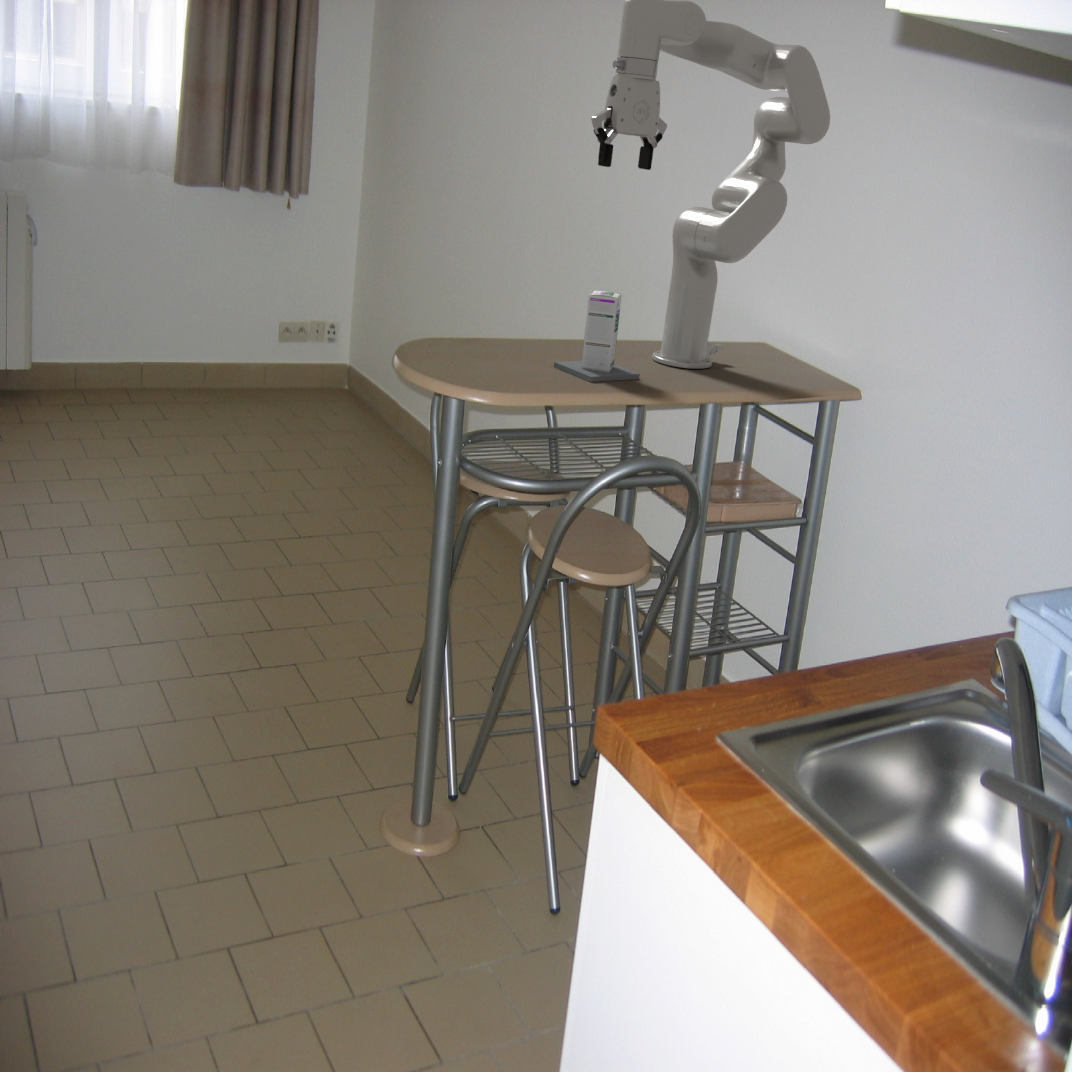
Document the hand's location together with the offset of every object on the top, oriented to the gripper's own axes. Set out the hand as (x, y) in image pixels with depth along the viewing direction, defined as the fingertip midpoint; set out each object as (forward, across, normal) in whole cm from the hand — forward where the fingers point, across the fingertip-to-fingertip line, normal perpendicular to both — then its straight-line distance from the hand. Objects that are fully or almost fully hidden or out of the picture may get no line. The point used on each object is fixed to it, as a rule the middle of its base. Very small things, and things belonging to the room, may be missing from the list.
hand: (624, 167), depth 214 cm
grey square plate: (+38, -4, -4) cm, 39 cm away
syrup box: (+38, -4, -4) cm, 38 cm away
